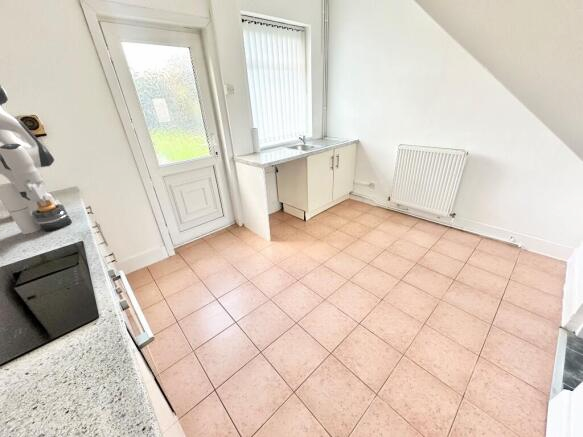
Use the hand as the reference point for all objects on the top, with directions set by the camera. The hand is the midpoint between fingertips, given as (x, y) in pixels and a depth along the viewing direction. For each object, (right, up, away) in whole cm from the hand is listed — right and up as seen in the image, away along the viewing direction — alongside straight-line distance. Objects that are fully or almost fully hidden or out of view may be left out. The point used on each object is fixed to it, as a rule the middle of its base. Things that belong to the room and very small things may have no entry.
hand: (45, 204), depth 122 cm
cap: (0, -3, +1) cm, 3 cm away
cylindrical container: (-10, -14, +3) cm, 17 cm away
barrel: (+1, -11, +6) cm, 13 cm away
